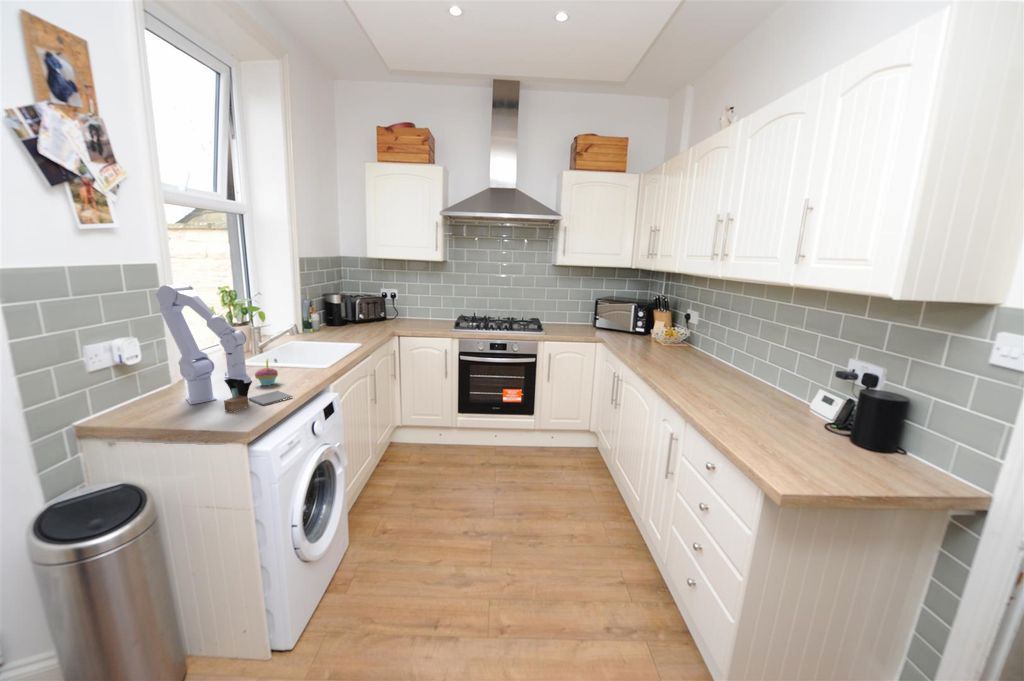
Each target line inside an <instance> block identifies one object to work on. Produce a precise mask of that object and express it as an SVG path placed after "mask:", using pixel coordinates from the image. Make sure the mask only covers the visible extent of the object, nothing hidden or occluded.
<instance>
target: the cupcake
mask: <svg viewBox="0 0 1024 681" xmlns="http://www.w3.org/2000/svg"><path fill="white" fill-rule="evenodd" d="M265 363H266V364H265V365H266V367H265V368H260V369H258V371H256V372H255V373H254V377H255V378H256V379H257V380H258V381H259V382H260V385H261V386H262V385H269V386H272V385H271V384H273V385H274V384H275V381H276V379H277V377H278V375H279V373H278V371H277V369H275V368H273V367H271V368H269V358H266V361H265Z"/></svg>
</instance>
